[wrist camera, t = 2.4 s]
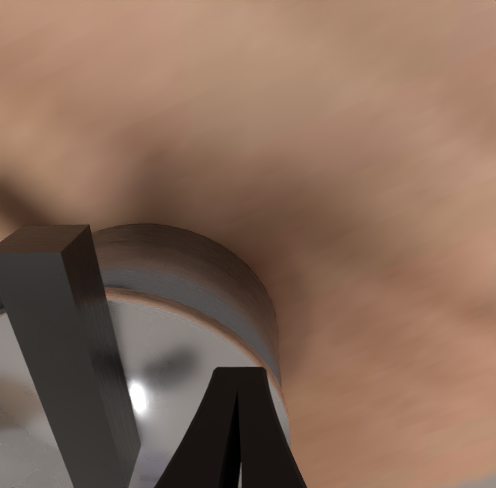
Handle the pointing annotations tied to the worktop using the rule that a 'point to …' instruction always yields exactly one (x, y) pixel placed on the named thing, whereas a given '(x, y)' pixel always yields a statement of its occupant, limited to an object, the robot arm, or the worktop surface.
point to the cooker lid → (98, 368)
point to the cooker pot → (190, 279)
